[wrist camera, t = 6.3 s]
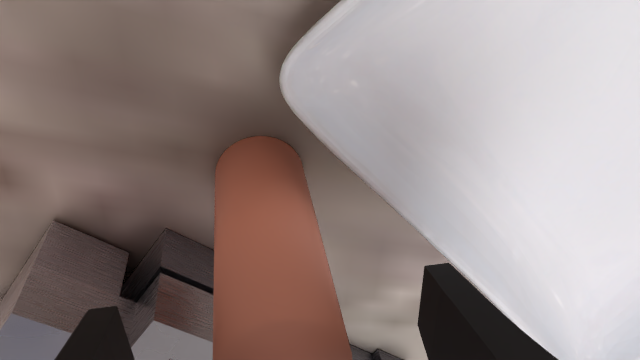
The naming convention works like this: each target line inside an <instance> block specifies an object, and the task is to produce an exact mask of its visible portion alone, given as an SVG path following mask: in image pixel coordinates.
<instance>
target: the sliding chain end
mask: <svg viewBox="0 0 640 360" xmlns="http://www.w3.org/2000/svg"><path fill="white" fill-rule="evenodd" d="M128 256H129V252H126V251H124V250H122V249H119V248H117V247H115V246H112V245H110V244H107V243H105V242H103V241H100V240H98V239H96V238H93V237H91V236H89V235H86V234H84V233H82V232H79V231H77V230H75V229H72V228H70V227H68V226H65V225H63V224H61V223H58V222H56V221H54V220H53V222H52V223H51V225H50V226H49V228H48V229H47V231H46V233H45V234H44V236H43V237H42V239H41V240H40V242H39V243H38V245H37V246H36V248H35V249H34V251H33V253H32V254H31V256H30V257H29V259H28V260H27V262H26V263H25V265H24V266H23V268H22V269H21V271H20V273H19V274H18V276H17V277H16V279H15V280H14V282H13V283H12V285H11V286H10V288H9V290H8V291H7V293H6V294H5V296H4V297H3V299H2V300H1V302H0V360H54V359H55V358H56V356H57V355H58V353H59V352H60V351H61V349H62V348H63V346H64V345H65V343H66V342H67V340H68V339H69V337H70V336H71V334H72V333H73V331H74V330H75V328H76V327H77V325H78V323H79V322H80V320H81V319H82V317H83V316H84V314H85V313H86V312H87V311H88V310H89V309H95V308H103V307H111V306H117V307H118V310H119V313H120V316H121V319H122V322H123V325H124V328H125V331H126V334H127V338H128V341H129V344H130V347H131V350H132V353H133V356H134V359H135V360H169V359H172V360H213V295H212V294H210V293H208V292H205V291H203V290H200V289H198V288H196V287H193V286H191V285H189V284H186V283H184V282H181V281H179V280H177V279H174V278H172V277H170V276H167V275H165V274H162V273H160V274H159V275H158V276H157V278H156V279H155V280H154V281H153V283H152V284H151V285H150V286H149V288H148V289H147V290H146V291H145V293H144V294H143V295H142V297H141V298H140V299H139V300H138V302H137V303H136V302H134V301H131V300H128V299H126V298H123V297H121V296H119V295H120V291H121V287H122V282H123V278H124V273H125V269H126V264H127V260H128Z"/></svg>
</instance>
